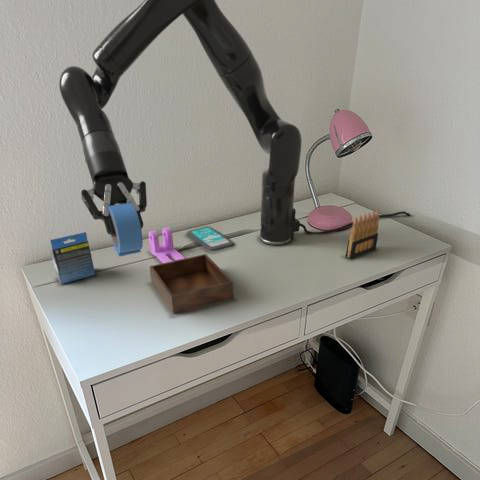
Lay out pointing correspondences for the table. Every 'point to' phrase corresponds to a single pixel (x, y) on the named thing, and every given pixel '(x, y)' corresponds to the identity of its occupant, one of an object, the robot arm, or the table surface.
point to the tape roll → (126, 229)
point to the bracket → (163, 246)
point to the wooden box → (191, 283)
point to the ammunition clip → (363, 235)
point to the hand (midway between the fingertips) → (126, 232)
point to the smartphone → (209, 238)
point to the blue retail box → (72, 258)
